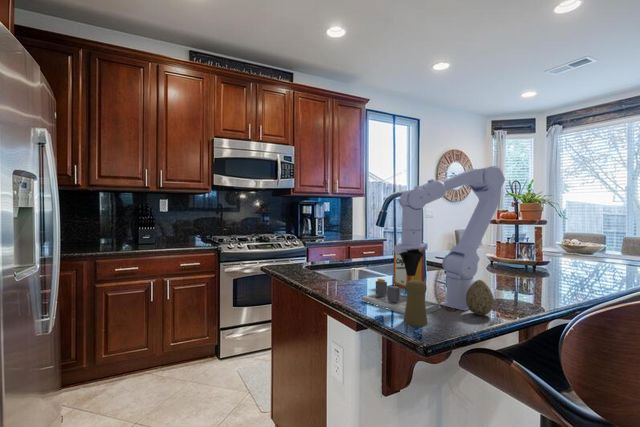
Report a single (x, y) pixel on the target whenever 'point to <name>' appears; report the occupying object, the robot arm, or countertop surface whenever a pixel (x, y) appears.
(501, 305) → the countertop surface
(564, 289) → the countertop surface
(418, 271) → the baking soda box
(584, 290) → the countertop surface
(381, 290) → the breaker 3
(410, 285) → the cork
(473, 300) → the decorative egg
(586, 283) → the countertop surface
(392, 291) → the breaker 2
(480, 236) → the robot arm
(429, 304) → the panel
